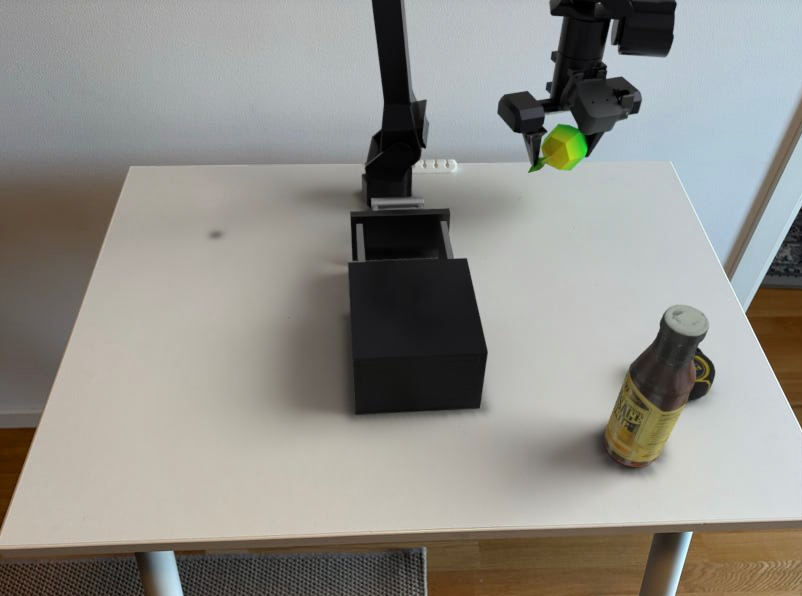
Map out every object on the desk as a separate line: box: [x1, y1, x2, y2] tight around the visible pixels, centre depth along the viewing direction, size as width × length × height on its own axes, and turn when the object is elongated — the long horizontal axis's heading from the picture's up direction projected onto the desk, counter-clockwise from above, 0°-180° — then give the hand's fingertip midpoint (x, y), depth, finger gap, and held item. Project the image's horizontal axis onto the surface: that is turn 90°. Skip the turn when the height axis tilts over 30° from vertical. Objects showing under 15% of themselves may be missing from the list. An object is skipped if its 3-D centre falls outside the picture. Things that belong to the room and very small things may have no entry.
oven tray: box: [349, 196, 455, 262], centre depth 95 cm, size 19×13×7 cm
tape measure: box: [687, 346, 716, 402], centre depth 86 cm, size 7×7×4 cm
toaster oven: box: [347, 257, 489, 416], centre depth 86 cm, size 16×14×9 cm
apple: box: [527, 123, 588, 174], centre depth 103 cm, size 7×6×9 cm
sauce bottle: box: [603, 304, 710, 468], centre depth 74 cm, size 7×6×20 cm
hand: (559, 160), depth 104 cm, fingers closed on apple, 8 cm apart
